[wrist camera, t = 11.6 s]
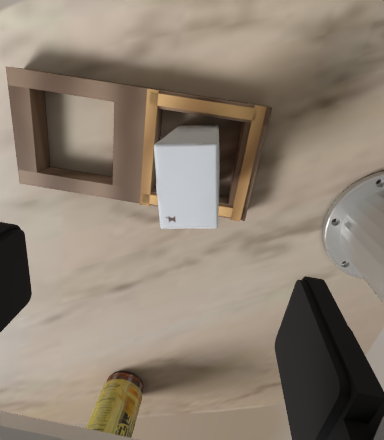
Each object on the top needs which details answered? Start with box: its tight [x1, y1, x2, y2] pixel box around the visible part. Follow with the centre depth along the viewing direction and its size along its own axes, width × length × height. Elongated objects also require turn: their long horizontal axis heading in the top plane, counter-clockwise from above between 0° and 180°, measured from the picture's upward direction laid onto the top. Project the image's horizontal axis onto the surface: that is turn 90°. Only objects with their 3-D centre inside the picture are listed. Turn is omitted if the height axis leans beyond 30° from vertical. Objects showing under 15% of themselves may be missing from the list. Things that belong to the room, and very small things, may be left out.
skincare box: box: [154, 125, 219, 229], centre depth 24 cm, size 6×4×12 cm
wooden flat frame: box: [6, 67, 272, 221], centre depth 29 cm, size 24×11×3 cm, turn 82°
